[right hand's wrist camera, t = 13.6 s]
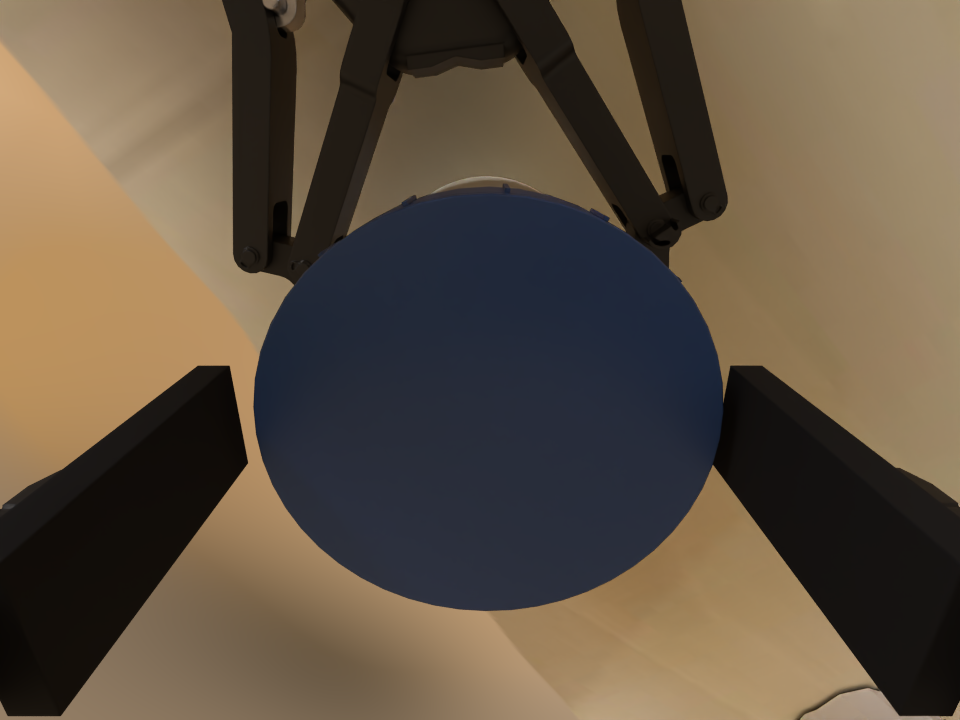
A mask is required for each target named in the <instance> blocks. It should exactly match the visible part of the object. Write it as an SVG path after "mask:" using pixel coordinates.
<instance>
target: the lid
mask: <svg viewBox="0 0 960 720" xmlns="http://www.w3.org/2000/svg"><path fill="white" fill-rule="evenodd" d="M609 219H610V218H609V217H607V216H605V215H603V214H601V213H600V212H598V211H596V210H594V209H592V208H591V210H590V212H589V211H587V210H585V209H583V208H581V207H580V206H578V205H575V204H572V203H570V202H567V201H564V200H561V199H559V198H556V197H553V196H551V195H546V194H542V193H537V192H533V191H528V190H523V189H516V188H510V187H509V185H508V184H504V183H503V187H490V186H489V187H473V188H459V189H454V190H449V191H444V192H439V193H434V194H429V195H426V196H423V197H421V198H418V199H417V198H416V195H414V196H411V197H410V198H408V199H407V200H405V201H403V202H402V204H401V205H399V206H397V207H395V208H393V209H391V210H389V211H387V212H385V213H383V214H382V215H380V216H378V217H376V218H374V219H372V220H371V221H369V222H368V223H366V224H364V225H363V226H361V227H359V228H358V229H356V230H355V231H353V232H352V233H350V234H349V235H348V236H346V237H345V238H343V239H342V240H341V241H338V242H336V243H335V244H333V245H331V246H330V247H328V248H327V249H325V250H323V251H322V252H320V253H319V254H318V256H319V257H320V258H319V259H318V260H317V261H316V262H315V263H314V264H312V265H311V266H310V267H309V268H308V269H307V270H306V271H305V272H304V273H303V275H302V276H301V277H300V279H299V280H298V281H297V283H296V284H295V285H294V286H293V288H292V289H291V290H290V292H289V293H288V294H287V296H286V297H285V299H284V300H283V302H282V304H281V306H280V308H279V309H278V311H277V313H276V315H275V317H274V319H273V320H272V322H271V324H270V327H269V330H268V332H267V335H266V338H265V340H264V343H263V346H262V349H261V351H260V356H259V361H258V366H257V371H256V376H255V387H254V417H255V427H256V435H257V440H258V444H259V448H260V452H261V456H262V460H263V463H264V465H265V467H266V470H267V472H268V475H269V477H270V480H271V482H272V485H273V487H274V488H275V490H276V492H277V494H278V495H279V497H280V499H281V501H282V502H283V504H284V506H285V508H286V509H287V510H288V512H289V513H290V514H291V516H292V517H293V518H294V520H295V521H296V522H297V524H298V525H299V526H300V528H301V529H302V530H303V531H304V532H305V533H306V534H307V535H308V536H309V537H310V538H311V539H312V540H313V541H314V542H315V543H316V544H317V545H318V547H320V548H321V549H322V550H323V551H324V552H326V553H327V554H328V555H329V556H331V557H332V558H333V559H334V560H335V561H337V562H338V563H339V564H341V565H342V566H344V567H345V568H347V569H348V570H350V571H351V572H353V573H355V574H356V575H358V576H359V577H361V578H363V579H365V580H367V581H369V582H371V583H372V584H374V585H376V586H379V587H380V588H382V589H385V590H387V591H390V592H392V593H395V594H398V595H400V596H403V597H406V598H408V599H412V600H416V601H420V602H423V603H428V604H431V605H435V606H442V607H448V608H454V609H462V610H479V611H497V610H515V609H522V608H529V607H536V606H541V605H545V604H549V603H553V602H557V601H562V600H565V599H568V598H570V597H573V596H576V595H579V594H582V593H585V592H587V591H589V590H592V589H594V588H596V587H598V586H600V585H602V584H604V583H606V582H608V581H611V580H612V579H614V578H616V577H617V576H619V575H620V574H622V573H624V572H625V571H627V570H629V569H630V568H632V567H633V566H635V565H636V564H637V563H638V562H640V561H641V560H642V559H644V558H645V557H646V556H647V555H649V554H650V553H651V552H653V551H654V550H655V549H656V548H657V547H658V546H659V545H660V544H661V543H662V542H663V541H664V540H665V539H666V538H667V537H668V536H669V535H670V534H671V533H672V532H673V531H674V529H675V528H676V527H677V526H678V524H679V523H680V522H681V521H682V519H683V518H684V517H685V516H686V514H687V513H688V512H689V510H690V509H691V507H692V505H693V504H694V502H695V500H696V499H697V497H698V495H699V494H700V492H701V490H702V488H703V486H704V484H705V481H706V479H707V477H708V475H709V472H710V470H711V468H712V465H713V462H714V458H715V455H716V451H717V448H718V444H719V440H720V434H721V426H722V418H723V382H722V377H721V371H720V366H719V360H718V355H717V352H716V349H715V346H714V343H713V340H712V337H711V334H710V331H709V328H708V326H707V324H706V322H705V320H704V318H703V316H702V315H701V313H700V311H699V309H698V307H697V305H696V303H695V301H694V300H693V298H692V297H691V296H690V294H689V293H688V291H687V290H686V289H685V287H684V286H683V285H682V283H681V282H682V281H681V279H680V278H679V277H677V276H676V275H675V274H674V273H673V272H672V271H671V270H670V269H669V268H668V267H667V266H666V265H665V264H664V263H663V262H662V261H661V260H660V259H659V258H658V257H657V256H656V255H655V254H654V253H653V252H652V251H650V250H649V249H648V248H646V247H645V246H644V245H642V244H641V243H639V242H638V241H637V240H635V239H634V238H633V237H631V236H630V235H629V234H627V233H626V232H624V231H623V230H621V229H619V228H618V227H616V226H614V225H612V224H611V223H609V222H608V220H609Z"/></svg>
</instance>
